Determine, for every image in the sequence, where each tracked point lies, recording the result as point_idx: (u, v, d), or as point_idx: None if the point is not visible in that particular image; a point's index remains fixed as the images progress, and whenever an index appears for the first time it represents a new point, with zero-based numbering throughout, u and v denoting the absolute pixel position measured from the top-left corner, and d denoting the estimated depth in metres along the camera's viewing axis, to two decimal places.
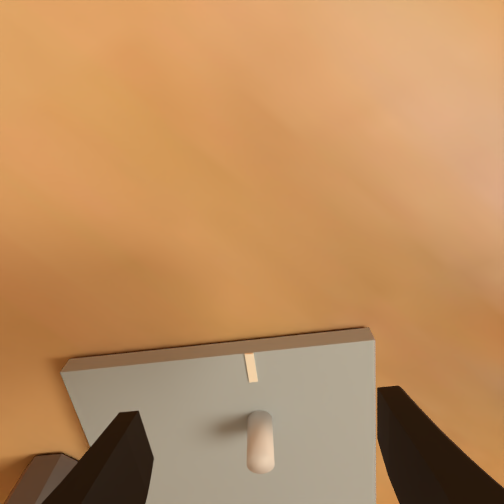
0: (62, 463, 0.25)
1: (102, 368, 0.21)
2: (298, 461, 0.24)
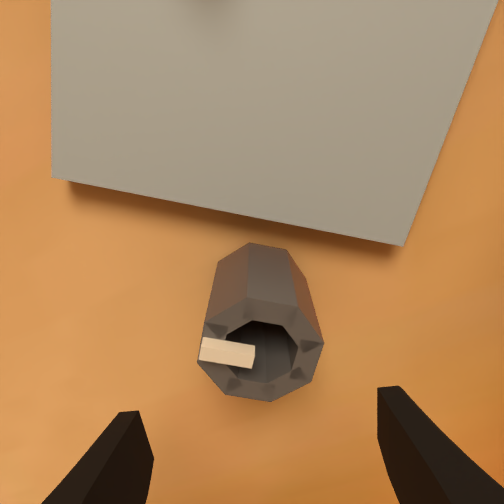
0: (222, 263, 0.18)
1: (52, 117, 0.15)
2: None
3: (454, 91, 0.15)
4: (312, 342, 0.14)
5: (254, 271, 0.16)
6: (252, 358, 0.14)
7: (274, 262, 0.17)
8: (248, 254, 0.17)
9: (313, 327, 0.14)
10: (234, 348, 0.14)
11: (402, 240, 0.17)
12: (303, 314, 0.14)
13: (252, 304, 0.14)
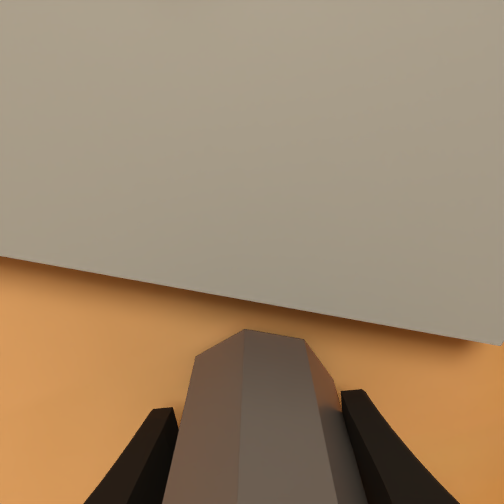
0: (201, 363, 0.11)
1: None
2: None
3: None
4: None
5: (252, 409, 0.09)
6: None
7: (286, 377, 0.10)
8: (244, 359, 0.10)
9: None
10: None
11: (500, 336, 0.10)
12: None
13: None
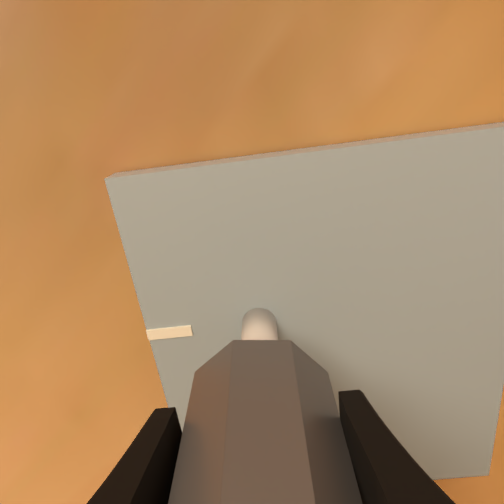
0: (198, 377, 0.12)
1: None
2: (347, 270, 0.15)
3: (497, 377, 0.17)
4: None
5: (238, 418, 0.09)
6: None
7: (271, 381, 0.11)
8: (231, 370, 0.11)
9: None
10: None
11: (486, 471, 0.20)
12: None
13: None
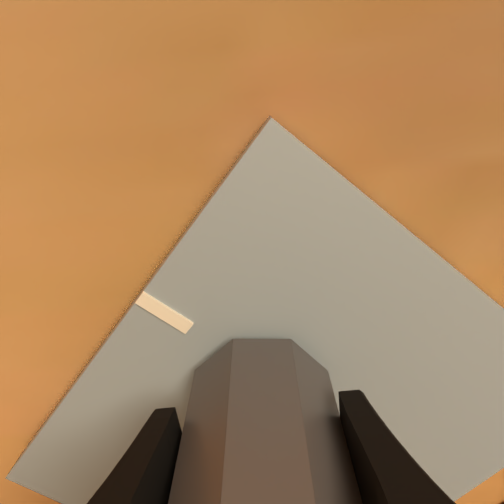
0: (199, 376, 0.12)
1: (31, 444, 0.15)
2: (377, 387, 0.14)
3: None
4: None
5: (238, 417, 0.09)
6: None
7: (272, 380, 0.11)
8: (231, 369, 0.11)
9: None
10: None
11: None
12: None
13: None
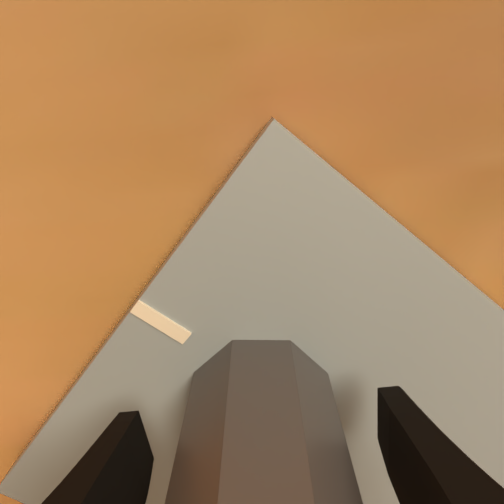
0: (197, 377, 0.12)
1: (23, 456, 0.14)
2: None
3: None
4: None
5: (236, 416, 0.09)
6: None
7: (271, 380, 0.10)
8: (230, 369, 0.11)
9: None
10: None
11: None
12: None
13: None
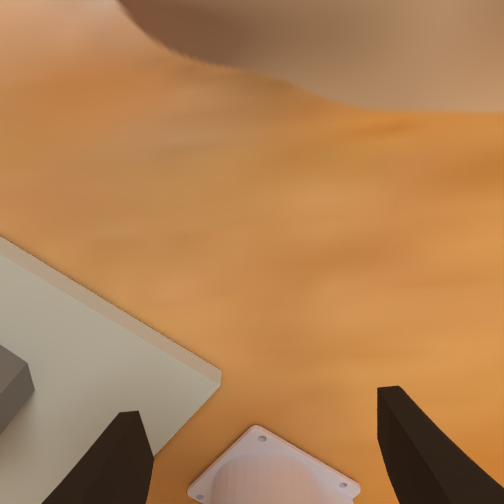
0: None
1: None
2: (67, 379, 0.21)
3: None
4: None
5: None
6: None
7: None
8: None
9: None
10: None
11: None
12: None
13: None
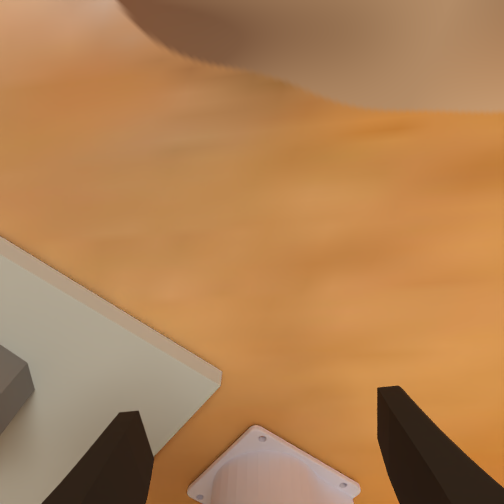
0: None
1: None
2: (67, 379, 0.21)
3: None
4: None
5: None
6: None
7: None
8: None
9: None
10: None
11: None
12: None
13: None
